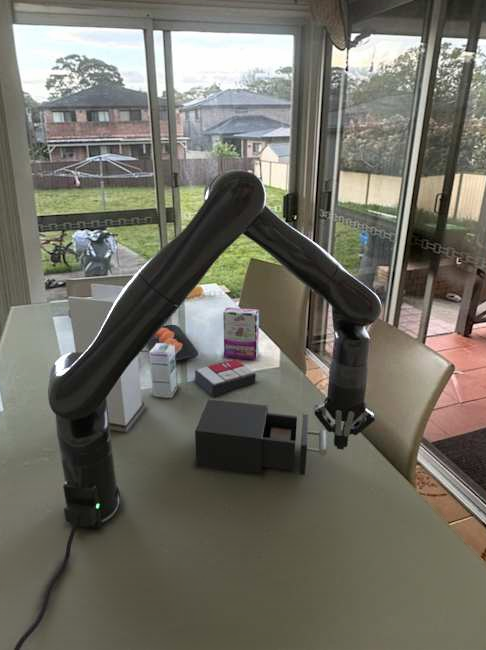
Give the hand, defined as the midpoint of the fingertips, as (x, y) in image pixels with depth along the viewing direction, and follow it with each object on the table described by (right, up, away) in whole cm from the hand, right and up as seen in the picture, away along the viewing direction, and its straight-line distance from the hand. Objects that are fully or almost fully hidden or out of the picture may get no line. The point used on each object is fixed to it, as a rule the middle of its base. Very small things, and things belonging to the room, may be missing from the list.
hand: (340, 446), depth 97 cm
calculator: (-25, +8, +36) cm, 45 cm away
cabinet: (-23, -3, +7) cm, 24 cm away
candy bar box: (-20, +14, +52) cm, 58 cm away
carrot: (-43, +35, +107) cm, 120 cm away
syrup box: (-43, +6, +31) cm, 53 cm away
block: (-15, 0, +4) cm, 15 cm away
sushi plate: (-52, +16, +57) cm, 79 cm away
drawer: (-12, -3, +4) cm, 13 cm away
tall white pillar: (-54, +2, +20) cm, 58 cm away
